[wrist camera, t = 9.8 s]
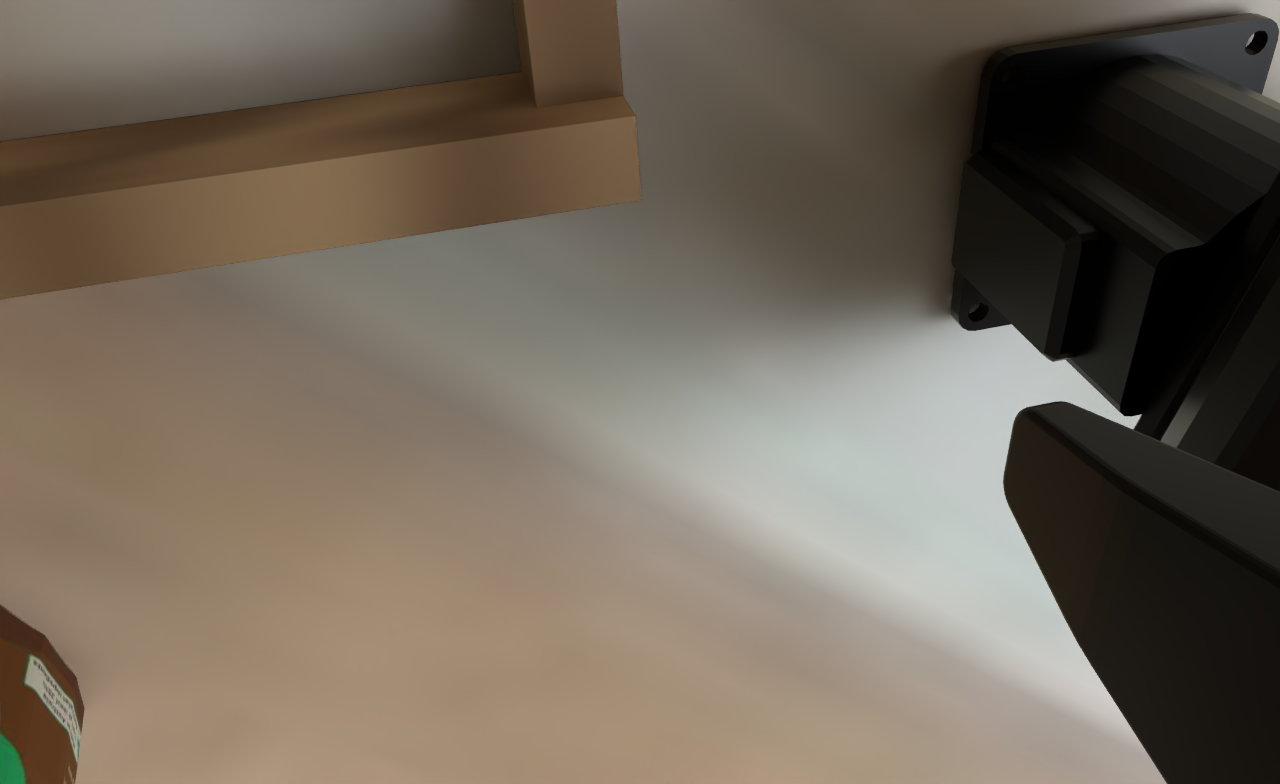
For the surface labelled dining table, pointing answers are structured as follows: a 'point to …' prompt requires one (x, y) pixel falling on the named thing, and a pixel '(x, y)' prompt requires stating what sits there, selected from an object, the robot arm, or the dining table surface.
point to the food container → (36, 708)
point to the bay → (328, 166)
